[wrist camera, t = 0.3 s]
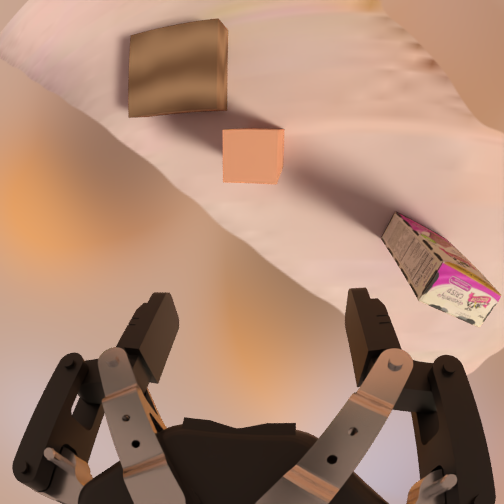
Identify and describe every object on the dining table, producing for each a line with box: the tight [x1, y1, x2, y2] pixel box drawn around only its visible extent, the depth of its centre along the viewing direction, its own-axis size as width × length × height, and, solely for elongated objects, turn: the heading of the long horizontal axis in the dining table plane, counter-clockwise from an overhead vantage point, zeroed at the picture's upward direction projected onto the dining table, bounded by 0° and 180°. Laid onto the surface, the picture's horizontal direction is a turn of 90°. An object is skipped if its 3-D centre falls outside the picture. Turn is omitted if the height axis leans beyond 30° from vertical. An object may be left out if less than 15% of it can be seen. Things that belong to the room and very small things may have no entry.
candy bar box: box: [381, 212, 501, 327], centre depth 30 cm, size 11×5×16 cm, turn 71°
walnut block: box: [128, 19, 228, 118], centre depth 30 cm, size 12×12×5 cm
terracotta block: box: [223, 128, 284, 184], centre depth 30 cm, size 5×5×12 cm
